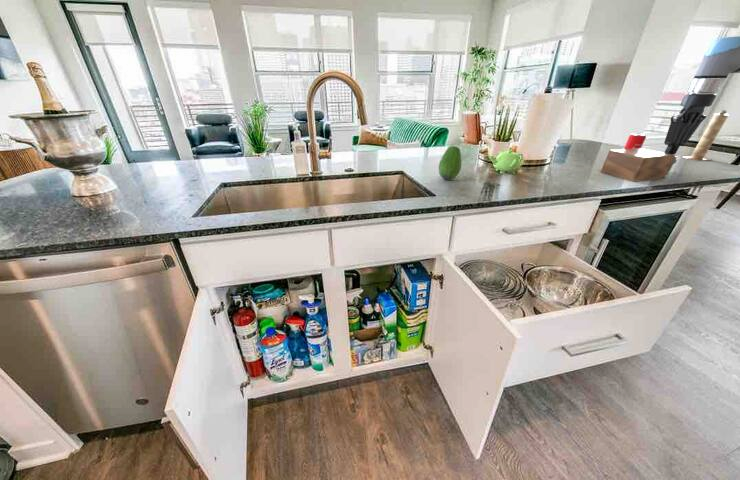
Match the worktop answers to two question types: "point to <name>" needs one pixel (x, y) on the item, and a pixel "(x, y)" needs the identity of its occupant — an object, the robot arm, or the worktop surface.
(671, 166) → the drawer
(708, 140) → the pepper mill
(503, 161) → the green bumpy rounded figure
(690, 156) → the tile
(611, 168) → the wood grain box
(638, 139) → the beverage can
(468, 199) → the worktop surface
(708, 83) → the robot arm
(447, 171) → the avocado
